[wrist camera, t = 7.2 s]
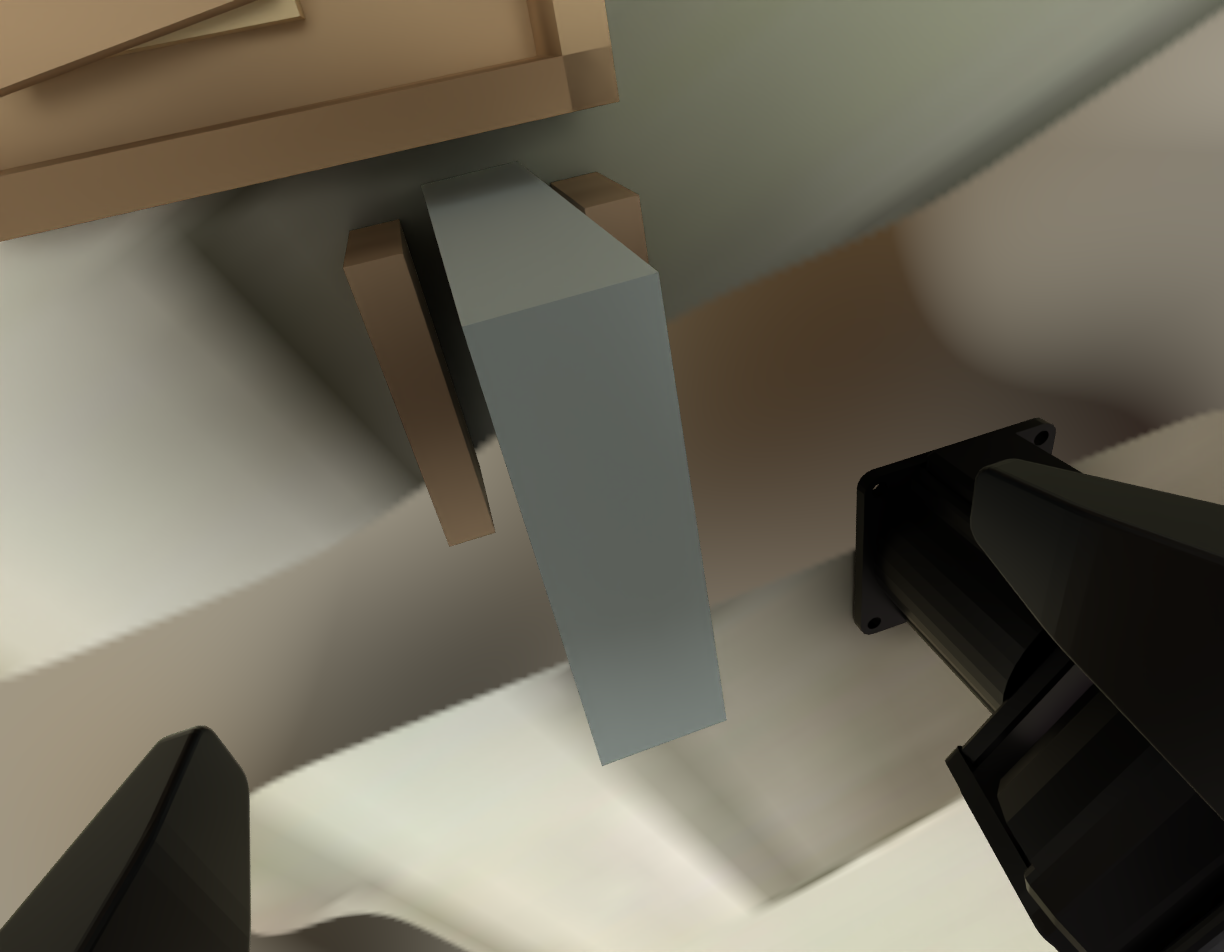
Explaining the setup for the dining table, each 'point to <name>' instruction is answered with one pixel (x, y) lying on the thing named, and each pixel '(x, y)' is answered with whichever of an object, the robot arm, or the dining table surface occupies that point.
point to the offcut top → (86, 32)
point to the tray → (291, 101)
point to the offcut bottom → (229, 23)
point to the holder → (418, 360)
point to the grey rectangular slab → (588, 446)
